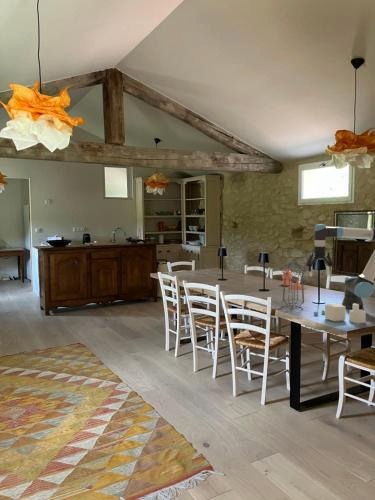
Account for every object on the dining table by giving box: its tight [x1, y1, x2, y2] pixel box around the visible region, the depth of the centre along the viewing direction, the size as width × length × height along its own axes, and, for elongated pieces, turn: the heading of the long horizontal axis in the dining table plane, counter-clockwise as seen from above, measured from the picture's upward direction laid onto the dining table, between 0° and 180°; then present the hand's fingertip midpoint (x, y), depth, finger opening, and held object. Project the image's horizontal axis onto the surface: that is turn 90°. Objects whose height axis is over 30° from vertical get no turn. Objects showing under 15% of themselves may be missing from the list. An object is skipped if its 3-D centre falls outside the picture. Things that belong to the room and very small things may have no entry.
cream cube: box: [324, 303, 347, 321], centre depth 258 cm, size 9×9×9 cm
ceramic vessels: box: [281, 269, 307, 291], centre depth 378 cm, size 35×21×19 cm, turn 15°
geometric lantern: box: [280, 261, 308, 309], centre depth 296 cm, size 16×16×35 cm
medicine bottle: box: [348, 303, 367, 324], centre depth 253 cm, size 7×7×12 cm
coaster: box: [327, 319, 345, 323], centre depth 258 cm, size 10×10×1 cm
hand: (319, 275), depth 278 cm, fingers open, 13 cm apart
